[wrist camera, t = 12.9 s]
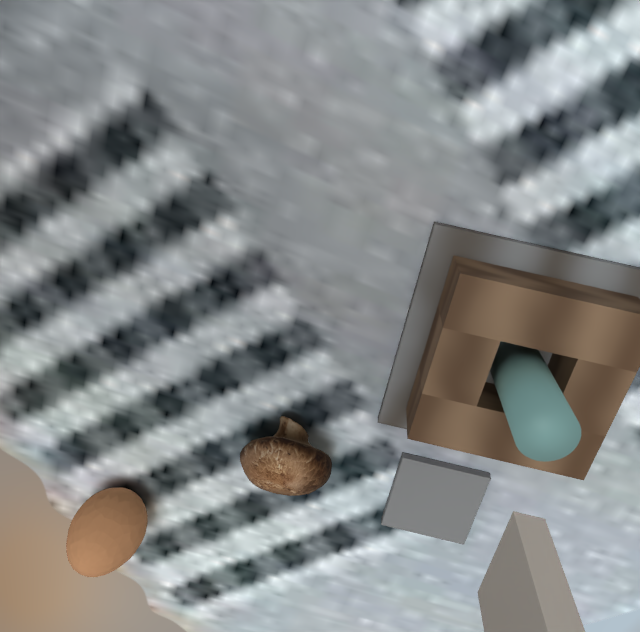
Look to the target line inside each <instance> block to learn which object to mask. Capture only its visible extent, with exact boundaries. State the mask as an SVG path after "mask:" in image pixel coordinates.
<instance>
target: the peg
mask: <svg viewBox="0 0 640 632" xmlns="http://www.w3.org/2000/svg"><path fill="white" fill-rule="evenodd" d="M490 372H491V375H492V378H493V381H494V384H495V386H496V389H497V392H498V395H499V398H500V401H501V404H502V407H503V409H504V412H505V415H506V418H507V421H508V424H509V427H510V430H511V432H512V435H513V438H514V441H515V444H516V446H517V448H518V449H519V451H520V452H521V453H522V454H523V455H525V456H526V457H528V458H530V459H533V460H536V461H544V462H546V461H555V460H558V459H561V458H563V457H565V456H567V455H569V454H570V453H571V452H572V451H573V450H574V449H575V448H576V447H577V445H578V444H579V441H580V439H581V427H580V424H579V422H578V420H577V418H576V416H575V415H574V413H573V411H572V409H571V407H570V406H569V404H568V402H567V400H566V398H565V397H564V395H563V393H562V391H561V389H560V388H559V386H558V384H557V382H556V380H555V379H554V377H553V375H552V373H551V371H550V370H549V368H548V366H547V364H546V362H545V361H544V359H543V357H542V355H541V354H540V352H539V350H537V349H533V348H528V347H524V346H520V345H515V344H511V343H507V342H502V341H501V342H500V344H499V347H498V350H497V352H496V355H495V358H494V361H493V363H492V366H491V369H490Z"/></svg>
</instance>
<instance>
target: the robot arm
mask: <svg viewBox="0 0 640 632" xmlns="http://www.w3.org/2000/svg"><path fill="white" fill-rule="evenodd" d="M478 597H479V603H480V609H481V615H482V621H483V626H484V632H585V630H584V627H583V624H582V622H581V619H580V616H579V613H578V610H577V607H576V605H575V602H574V599H573V596H572V593H571V591H570V588H569V585H568V582H567V579H566V577H565V574H564V571H563V568H562V565H561V563H560V560H559V557H558V554H557V551H556V548H555V546H554V543H553V540H552V537H551V534H550V532H549V529H548V526H547V523H546V520H545V519H543V518H539V517H535V516H530V515H526V514H522V513H518V512H514V511H513V513H512V515H511V518H510V520H509V522H508V525H507V527H506V529H505V531H504V534H503V536H502V538H501V540H500V543H499V545H498V547H497V550H496V552H495V554H494V556H493V559H492V561H491V563H490V565H489V568H488V570H487V572H486V575H485V577H484V579H483V581H482V584H481V586H480V588H479V590H478Z"/></svg>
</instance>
